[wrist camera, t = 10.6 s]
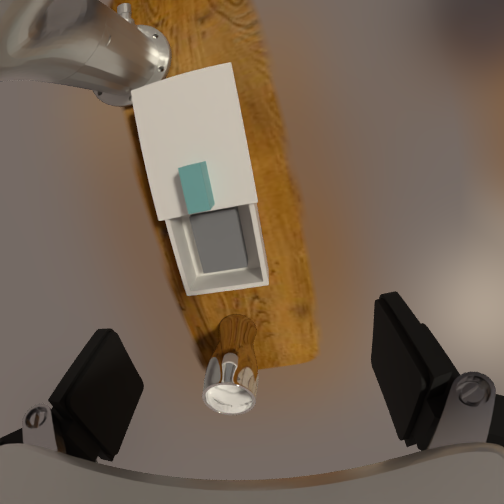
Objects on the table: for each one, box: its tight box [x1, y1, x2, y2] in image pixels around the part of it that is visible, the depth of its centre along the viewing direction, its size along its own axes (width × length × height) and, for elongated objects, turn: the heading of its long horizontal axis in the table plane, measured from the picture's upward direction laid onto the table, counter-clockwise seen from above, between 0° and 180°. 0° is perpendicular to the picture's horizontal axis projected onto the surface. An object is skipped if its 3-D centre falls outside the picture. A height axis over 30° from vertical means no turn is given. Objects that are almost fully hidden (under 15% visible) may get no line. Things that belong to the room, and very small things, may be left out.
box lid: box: [131, 62, 258, 221], centre depth 29 cm, size 16×12×4 cm
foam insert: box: [189, 206, 248, 273], centre depth 38 cm, size 8×6×2 cm
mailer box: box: [165, 203, 269, 296], centre depth 37 cm, size 16×11×5 cm
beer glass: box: [202, 315, 258, 415], centre depth 39 cm, size 7×7×15 cm
